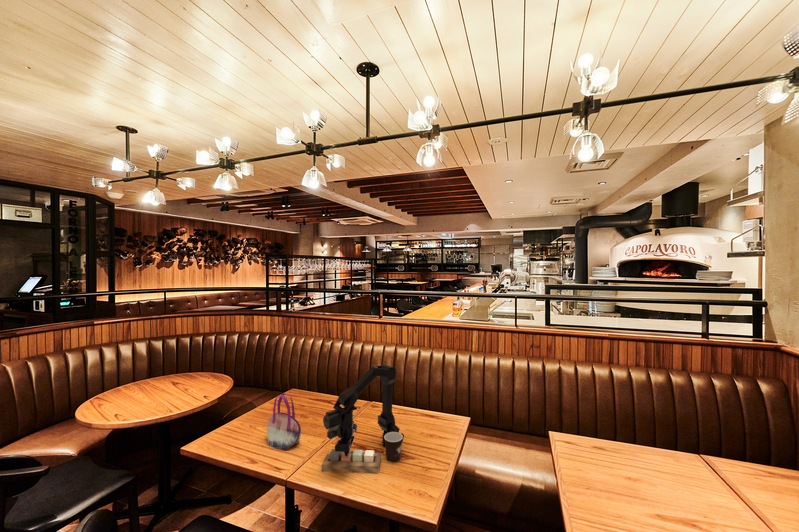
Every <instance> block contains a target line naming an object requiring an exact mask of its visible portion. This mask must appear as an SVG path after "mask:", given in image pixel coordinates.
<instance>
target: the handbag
mask: <svg viewBox="0 0 799 532" xmlns="http://www.w3.org/2000/svg"><path fill="white" fill-rule="evenodd" d="M286 395H288V396H289V397H290V403H291V406H290V403H289V400H288V398H287V397H286ZM277 400H278V401H277ZM282 400H283V402H284V405H285V406H286V410H287V413H286V412H283V411H282V412H281V403H282ZM276 407H277V410H276ZM272 409H273V411H272V414H271V415H270V416H269V418H268V421H267V426H266V433H267V436H266V437H267V444H268V446H269V447H271V448H274V449H278V450H281V451H287V450H288V449H290V448H291V447H292V446H294V445H296V444H297V443H298V442H300V439H301V435H302V428H301V424H300V423H299V421H298V420H297V419H296V416H295V415H296V413H295V406H294V401H293V398H292V396H290V394H289V393H285V392H283V393H281V394H279V395H277V396H276V398H275V399H274V401H273V408H272ZM276 411H277V412H276Z"/></svg>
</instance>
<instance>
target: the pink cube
mask: <svg viewBox="0 0 799 532" xmlns="http://www.w3.org/2000/svg"><path fill="white" fill-rule="evenodd" d="M340 462H352V453H349V454H348V456H345V453H343V455H342V457H341V461H340Z"/></svg>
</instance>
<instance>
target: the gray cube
mask: <svg viewBox="0 0 799 532" xmlns="http://www.w3.org/2000/svg"><path fill="white" fill-rule="evenodd" d="M330 451H331V452H330V461H339V462H341V461H340V458H341V452H337V451H335V448H332V449H331V450H330Z"/></svg>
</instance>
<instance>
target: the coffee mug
mask: <svg viewBox="0 0 799 532" xmlns="http://www.w3.org/2000/svg"><path fill="white" fill-rule="evenodd" d="M404 435H405V434H404V433H403V432H402V433H400V432H399V433H398V432H389V433H387V434H386V435H385V436H384V440H385V447H384V448H385V455H386V460H387V461H388V462H389V463H397V462H399V461H400V460H401V456H402V455H401V454H402V447H403V446H402V445H403V440H404V437H405V436H404Z"/></svg>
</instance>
